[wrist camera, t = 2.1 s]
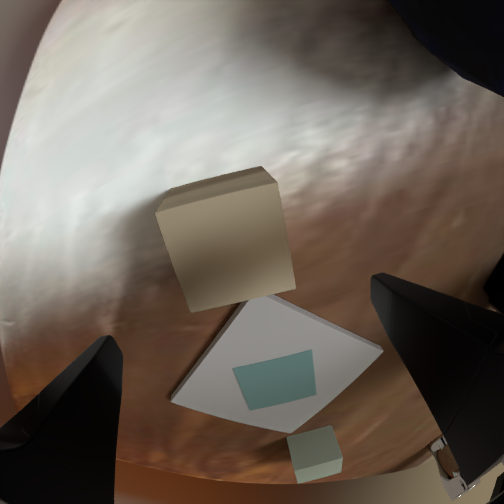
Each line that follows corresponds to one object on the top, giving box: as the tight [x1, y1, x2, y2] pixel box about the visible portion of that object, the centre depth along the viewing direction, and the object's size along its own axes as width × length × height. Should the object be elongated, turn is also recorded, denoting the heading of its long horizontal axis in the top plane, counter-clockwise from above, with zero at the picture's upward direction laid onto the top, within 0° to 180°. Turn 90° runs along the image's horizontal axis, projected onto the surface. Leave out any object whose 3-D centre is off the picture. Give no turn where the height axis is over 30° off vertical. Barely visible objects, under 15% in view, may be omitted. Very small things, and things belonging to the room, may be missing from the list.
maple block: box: [155, 166, 296, 313], centre depth 16 cm, size 6×6×5 cm
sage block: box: [287, 425, 343, 484], centre depth 29 cm, size 6×6×5 cm
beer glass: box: [427, 434, 480, 501], centre depth 35 cm, size 7×7×15 cm
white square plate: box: [171, 294, 384, 433], centre depth 24 cm, size 14×14×1 cm
